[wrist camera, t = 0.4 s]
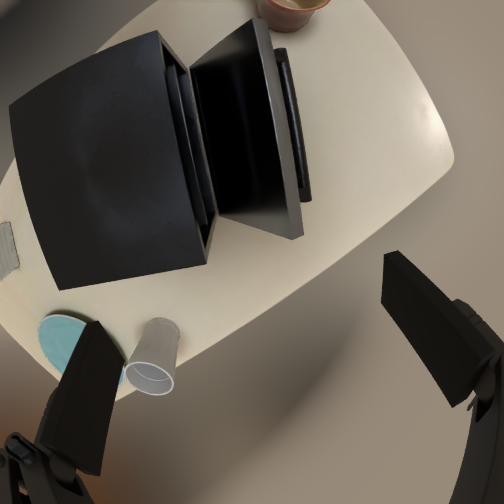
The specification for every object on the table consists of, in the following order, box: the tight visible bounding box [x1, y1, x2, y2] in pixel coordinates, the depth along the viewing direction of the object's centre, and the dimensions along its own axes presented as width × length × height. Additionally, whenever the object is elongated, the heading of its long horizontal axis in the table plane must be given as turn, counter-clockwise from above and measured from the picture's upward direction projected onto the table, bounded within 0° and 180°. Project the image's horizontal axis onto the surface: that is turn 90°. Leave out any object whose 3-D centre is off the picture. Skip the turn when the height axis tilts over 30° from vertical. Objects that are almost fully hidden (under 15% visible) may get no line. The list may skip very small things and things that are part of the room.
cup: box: [124, 318, 180, 395], centre depth 42 cm, size 8×8×12 cm
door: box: [189, 18, 312, 240], centre depth 30 cm, size 5×22×16 cm, turn 10°
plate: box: [38, 314, 125, 387], centre depth 48 cm, size 22×22×3 cm
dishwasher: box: [9, 30, 217, 291], centre depth 28 cm, size 18×22×16 cm
